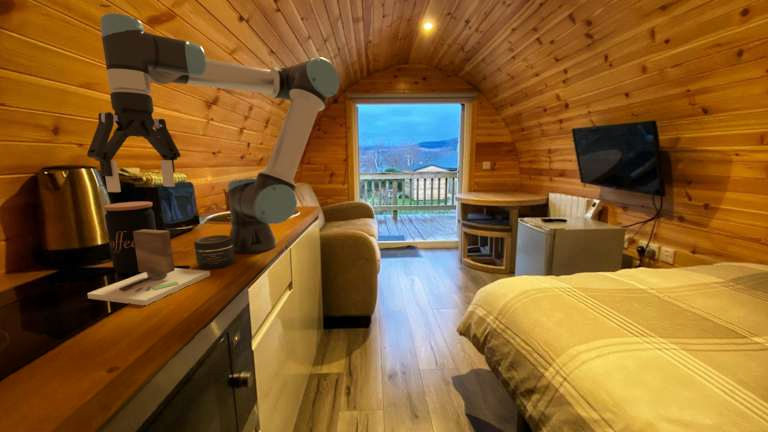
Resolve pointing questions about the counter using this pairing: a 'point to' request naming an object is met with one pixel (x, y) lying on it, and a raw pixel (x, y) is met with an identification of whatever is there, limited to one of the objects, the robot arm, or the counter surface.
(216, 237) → the jar
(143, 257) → the brown upright panel
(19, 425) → the counter surface
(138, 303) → the plate
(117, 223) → the coffee jar
